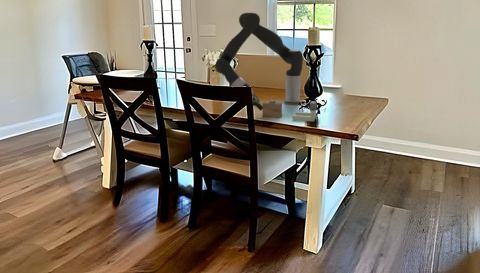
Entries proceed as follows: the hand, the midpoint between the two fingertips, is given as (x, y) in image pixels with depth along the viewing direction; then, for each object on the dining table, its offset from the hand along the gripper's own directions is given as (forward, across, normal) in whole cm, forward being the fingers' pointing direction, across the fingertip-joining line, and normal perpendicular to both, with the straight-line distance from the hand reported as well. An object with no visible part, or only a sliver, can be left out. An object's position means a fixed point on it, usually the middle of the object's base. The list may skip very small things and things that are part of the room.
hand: (262, 109), depth 235 cm
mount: (+20, 0, -14) cm, 24 cm away
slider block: (+7, 0, -1) cm, 7 cm away
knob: (+19, -2, -22) cm, 29 cm away
